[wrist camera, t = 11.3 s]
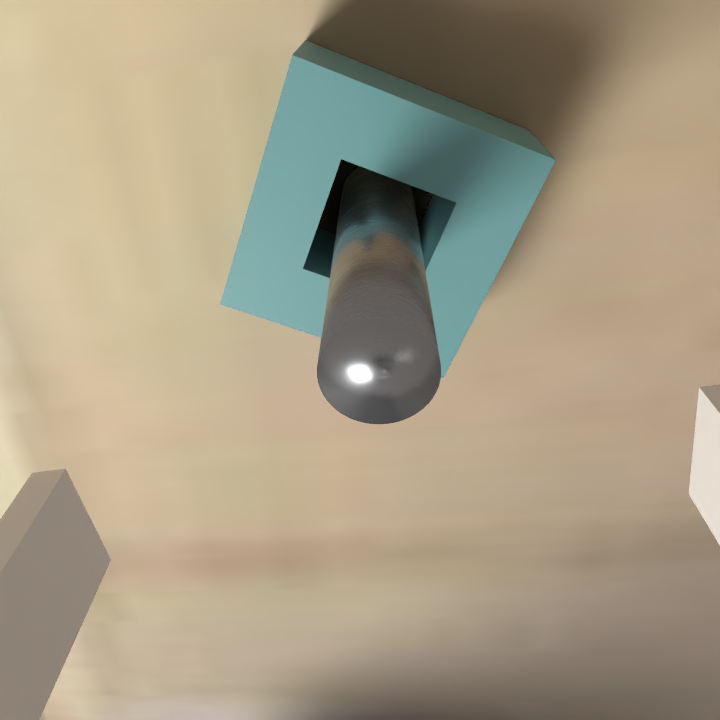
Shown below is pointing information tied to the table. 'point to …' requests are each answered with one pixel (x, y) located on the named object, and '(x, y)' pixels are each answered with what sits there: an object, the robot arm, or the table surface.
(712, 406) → the robot arm
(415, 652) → the table surface
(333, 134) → the drilled block
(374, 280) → the long pin
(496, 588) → the table surface
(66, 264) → the table surface
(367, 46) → the table surface
